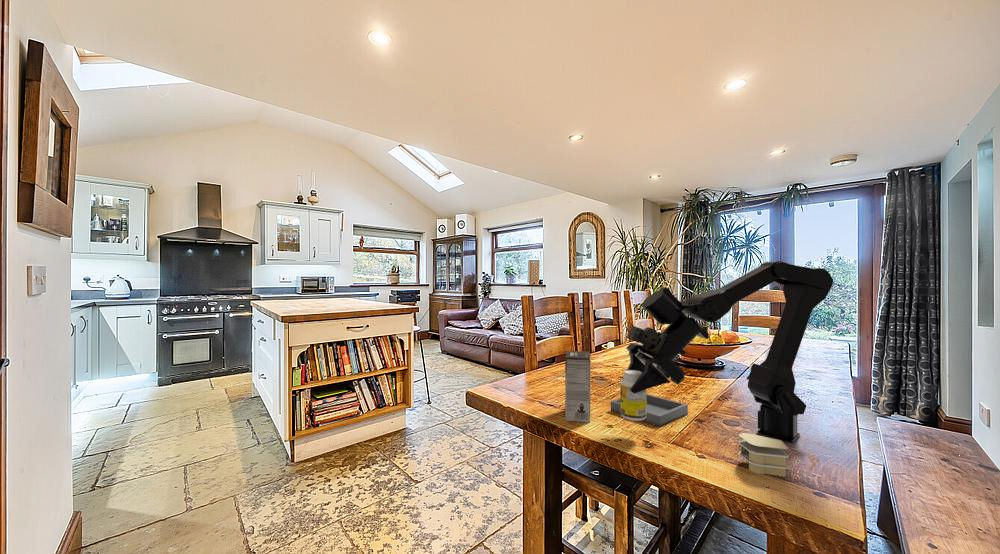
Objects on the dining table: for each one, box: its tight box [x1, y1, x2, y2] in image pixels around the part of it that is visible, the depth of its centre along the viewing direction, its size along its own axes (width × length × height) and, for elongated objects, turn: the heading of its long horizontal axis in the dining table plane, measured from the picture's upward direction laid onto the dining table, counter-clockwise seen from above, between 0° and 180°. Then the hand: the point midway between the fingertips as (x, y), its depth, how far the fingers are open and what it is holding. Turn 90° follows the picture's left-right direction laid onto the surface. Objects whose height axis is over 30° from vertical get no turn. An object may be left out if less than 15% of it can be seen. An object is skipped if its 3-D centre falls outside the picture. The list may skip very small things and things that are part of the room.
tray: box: [610, 393, 689, 428], centre depth 98 cm, size 14×14×2 cm
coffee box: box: [564, 350, 592, 423], centre depth 96 cm, size 9×6×16 cm
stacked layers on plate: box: [738, 432, 790, 478], centre depth 69 cm, size 10×9×6 cm
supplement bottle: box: [619, 369, 647, 422], centre depth 83 cm, size 6×6×10 cm
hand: (627, 387), depth 83 cm, fingers closed on supplement bottle, 6 cm apart
